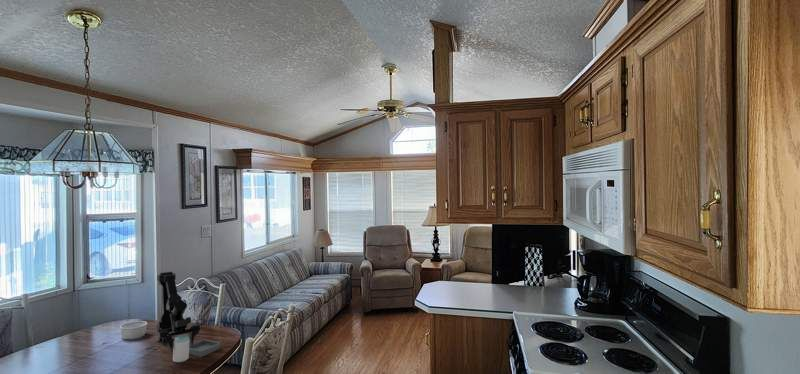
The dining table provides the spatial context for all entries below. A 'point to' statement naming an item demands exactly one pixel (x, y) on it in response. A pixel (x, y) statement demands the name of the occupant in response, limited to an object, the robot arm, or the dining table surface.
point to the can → (181, 348)
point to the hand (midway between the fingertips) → (182, 348)
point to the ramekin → (133, 329)
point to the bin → (203, 347)
